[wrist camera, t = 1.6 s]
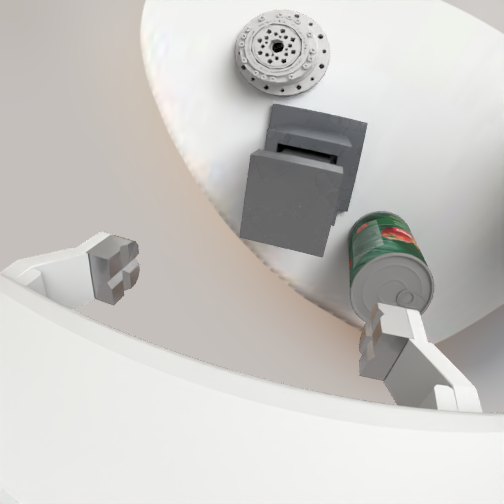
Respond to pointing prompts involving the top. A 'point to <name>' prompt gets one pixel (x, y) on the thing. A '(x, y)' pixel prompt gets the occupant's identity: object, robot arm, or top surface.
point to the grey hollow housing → (320, 141)
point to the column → (291, 199)
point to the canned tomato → (386, 266)
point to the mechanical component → (297, 65)
